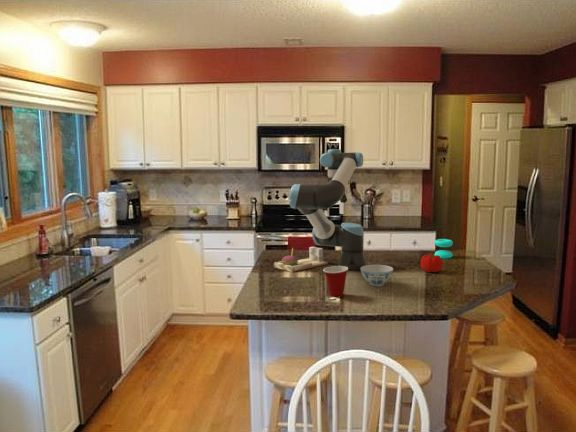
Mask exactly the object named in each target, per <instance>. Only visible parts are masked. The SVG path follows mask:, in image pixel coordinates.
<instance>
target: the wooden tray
mask: <svg viewBox="0 0 576 432" xmlns="http://www.w3.org/2000/svg"><path fill="white" fill-rule="evenodd" d="M308 255H309V256H308V257H306V258H302V259H298V262H297V263H296V265H295V266H290V265H286V264H284V263H283V262H282V260H280V261H274V263H273V268H275V269H276V268H277V269H280V270H283V271H288V272H291V273H293V272H297V271H298V272H299V271H302V270H306V269H307V270H308V269H311V268H316V267H322V266H325V265H329V262H328V261H327V260H326V261H325V260H324V248H323V247H316V246H310V247H308Z"/></svg>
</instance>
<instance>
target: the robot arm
mask: <svg viewBox="0 0 576 432" xmlns="http://www.w3.org/2000/svg"><path fill="white" fill-rule="evenodd" d="M319 163H320V165H321V166H322V167H324V168H327V183H324V184H323V183H322V184H312V183H310V184H307V183H305V184H304V183H298V184H297V183H296V184H293V185H292V186H291V188H290V191H289V195H288V197H289V199H288V202H289V206H290V208H292V209H294V210H296V209H297V210H298V211H299V212H300V214H303V215H305V217H306V218H307V219H308V221H309V223H310V224H311V226H312V227H313V228H312V232H311V234H312V235H311V236H312V241H313V242H314V244H315V245H317V246H321V247H325V246H326V247H339V248H341V253H340V256H339V259H338V262H337V263H338V265H337V266H346V267H348V270H349V271H351V270H353V271H354V270H355V271H356V270H361V267H362V266H365V265H368V263H367V261H366V255H365V253H364V237H365V236H364V235H365V232H364V227H363V226H362V225H361V224H359V223H355V222H342V223H341V224H334V222H333V221H332V220H330V219H328V217H329V218H330V208H331V207H333V206H334V205H337V203H339V214H340V215H345V203H346V202H347V201H348V199H347V196H346V187H347V185H348V184H349V181H350V179H351V178H352V176H353V173H354V172H355V170H356V168H361V167H363V166H364V165H363V164H364V155H363V153H362V152H342V150H341V149H339V148H338V149H337V148H336V149H335V148H331V149H328V150H327V152H325V153H324V152H323V154H321V156H320V158H319ZM339 201H340V202H339Z"/></svg>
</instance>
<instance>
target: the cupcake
mask: <svg viewBox="0 0 576 432" xmlns="http://www.w3.org/2000/svg"><path fill="white" fill-rule="evenodd" d="M298 260H299V258H298V257H296V255H294V247H292V248H291V255H285V256H284V257H282V259H281V261H282V262H283V263H284V264H286V265H290V266H295V265H297V264H296V263H297V262H298Z"/></svg>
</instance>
